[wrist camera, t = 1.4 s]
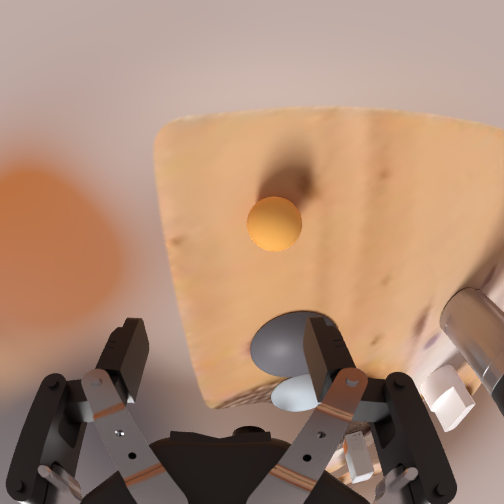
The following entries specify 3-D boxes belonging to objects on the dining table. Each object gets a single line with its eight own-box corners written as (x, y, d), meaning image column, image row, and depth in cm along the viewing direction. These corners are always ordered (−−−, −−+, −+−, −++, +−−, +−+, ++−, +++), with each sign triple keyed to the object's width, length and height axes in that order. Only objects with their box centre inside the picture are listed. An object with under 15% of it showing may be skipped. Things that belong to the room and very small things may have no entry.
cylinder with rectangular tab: (431, 368, 46) (456, 410, 35) (459, 361, 47) (484, 398, 36) (413, 396, 50) (434, 436, 39) (442, 388, 50) (462, 424, 39)
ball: (291, 186, 30) (302, 199, 25) (299, 233, 32) (310, 253, 27) (241, 197, 30) (242, 211, 25) (252, 243, 33) (254, 265, 28)
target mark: (337, 302, 37) (337, 302, 37) (339, 365, 42) (339, 366, 42) (241, 323, 37) (241, 324, 37) (259, 382, 43) (260, 383, 43)
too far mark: (333, 366, 42) (333, 367, 42) (333, 402, 47) (334, 403, 47) (266, 381, 43) (266, 382, 43) (276, 415, 47) (276, 416, 47)
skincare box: (344, 434, 54) (356, 476, 43) (361, 430, 54) (375, 471, 43) (341, 445, 56) (352, 484, 45) (357, 440, 56) (369, 479, 45)
